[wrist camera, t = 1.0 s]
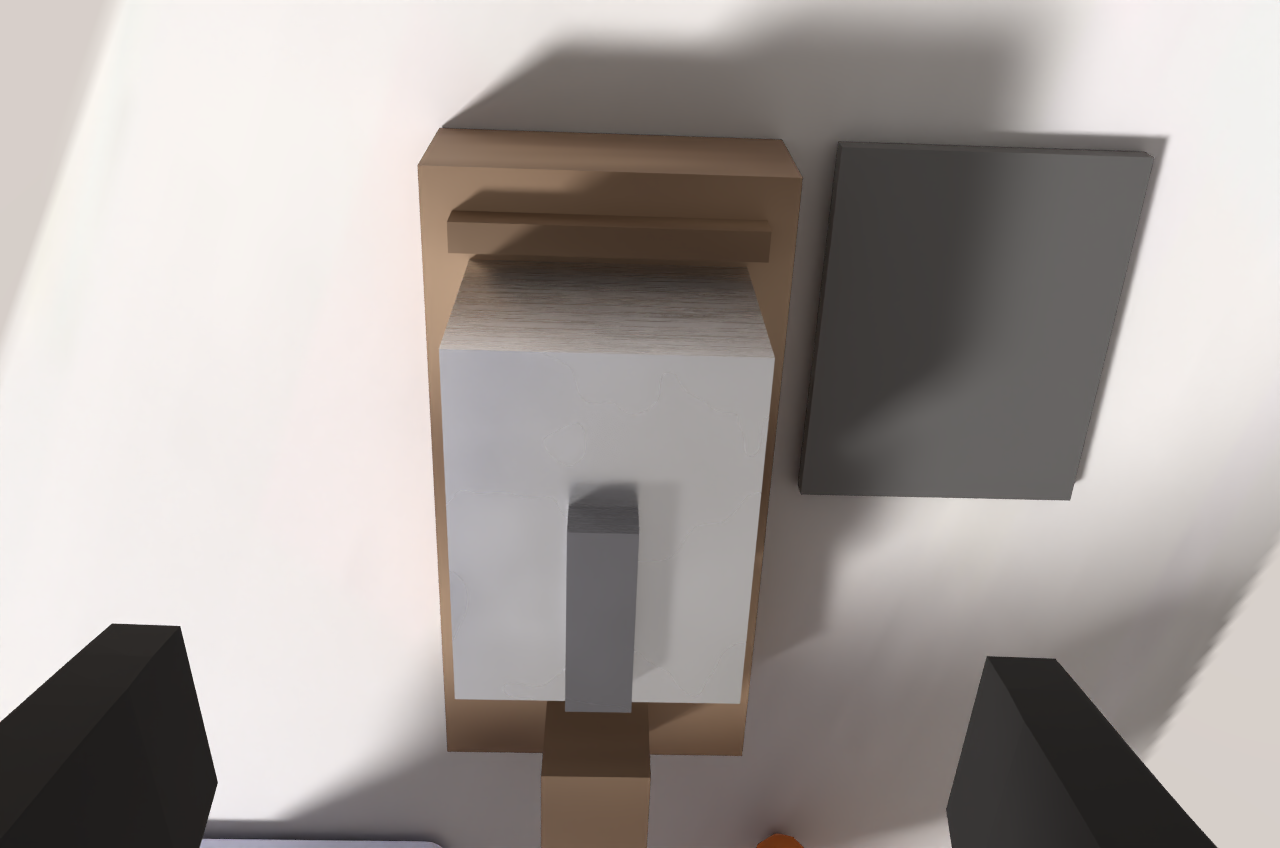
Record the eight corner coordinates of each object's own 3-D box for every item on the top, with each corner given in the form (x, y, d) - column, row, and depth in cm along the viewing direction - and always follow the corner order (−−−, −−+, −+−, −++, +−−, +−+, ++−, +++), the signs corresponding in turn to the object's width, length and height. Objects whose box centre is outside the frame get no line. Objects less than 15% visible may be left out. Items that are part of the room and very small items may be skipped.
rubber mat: (1063, 489, 24) (1069, 500, 23) (797, 484, 23) (800, 494, 23) (1144, 151, 20) (1154, 157, 20) (838, 141, 20) (842, 147, 20)
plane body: (731, 675, 26) (762, 901, 20) (461, 671, 25) (420, 898, 20) (781, 139, 20) (843, 253, 15) (439, 127, 20) (374, 238, 15)
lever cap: (720, 573, 21) (745, 734, 18) (479, 568, 21) (449, 729, 17) (747, 267, 19) (781, 379, 15) (469, 259, 18) (431, 370, 15)
